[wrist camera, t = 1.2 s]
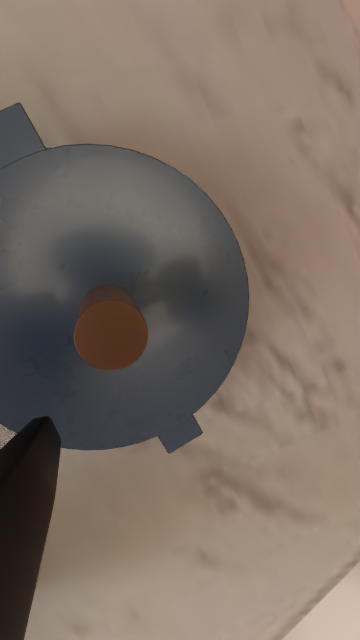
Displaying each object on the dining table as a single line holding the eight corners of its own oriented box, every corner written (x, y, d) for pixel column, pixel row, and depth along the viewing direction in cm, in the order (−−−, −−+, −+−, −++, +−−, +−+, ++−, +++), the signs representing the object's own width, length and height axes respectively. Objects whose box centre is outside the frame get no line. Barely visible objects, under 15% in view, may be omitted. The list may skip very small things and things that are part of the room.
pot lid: (54, 485, 18) (39, 579, 13) (-141, 241, 13) (-282, 239, 8) (276, 354, 20) (338, 392, 15) (169, 96, 15) (206, 23, 10)
